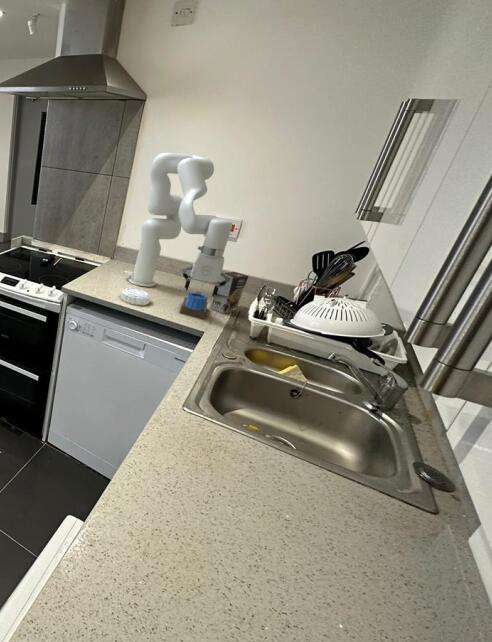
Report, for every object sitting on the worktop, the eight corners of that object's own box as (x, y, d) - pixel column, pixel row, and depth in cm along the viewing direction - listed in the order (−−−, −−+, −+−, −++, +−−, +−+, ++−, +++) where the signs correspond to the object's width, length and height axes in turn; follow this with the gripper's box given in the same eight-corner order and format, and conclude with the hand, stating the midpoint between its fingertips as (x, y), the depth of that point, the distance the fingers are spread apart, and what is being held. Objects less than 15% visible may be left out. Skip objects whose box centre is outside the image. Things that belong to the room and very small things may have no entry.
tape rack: (179, 312, 161) (184, 296, 158) (182, 303, 172) (187, 287, 169) (203, 319, 157) (209, 302, 154) (205, 308, 168) (211, 292, 165)
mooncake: (150, 299, 173) (152, 291, 172) (147, 307, 163) (149, 300, 162) (122, 292, 178) (124, 285, 177) (118, 300, 168) (119, 293, 167)
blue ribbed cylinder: (184, 307, 159) (187, 296, 157) (185, 301, 165) (189, 291, 163) (203, 312, 156) (207, 300, 154) (204, 306, 162) (208, 295, 160)
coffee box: (223, 314, 164) (236, 277, 157) (209, 308, 169) (221, 272, 163) (236, 311, 168) (249, 275, 162) (222, 305, 173) (234, 270, 167)
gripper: (187, 249, 152) (175, 290, 159) (238, 258, 144) (223, 301, 151) (188, 245, 158) (177, 285, 165) (237, 254, 150) (224, 295, 157)
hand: (199, 292), depth 158 cm, fingers open, 9 cm apart
